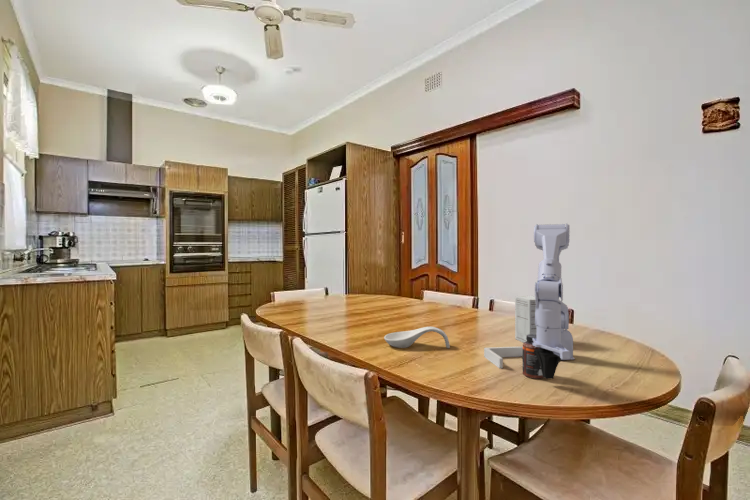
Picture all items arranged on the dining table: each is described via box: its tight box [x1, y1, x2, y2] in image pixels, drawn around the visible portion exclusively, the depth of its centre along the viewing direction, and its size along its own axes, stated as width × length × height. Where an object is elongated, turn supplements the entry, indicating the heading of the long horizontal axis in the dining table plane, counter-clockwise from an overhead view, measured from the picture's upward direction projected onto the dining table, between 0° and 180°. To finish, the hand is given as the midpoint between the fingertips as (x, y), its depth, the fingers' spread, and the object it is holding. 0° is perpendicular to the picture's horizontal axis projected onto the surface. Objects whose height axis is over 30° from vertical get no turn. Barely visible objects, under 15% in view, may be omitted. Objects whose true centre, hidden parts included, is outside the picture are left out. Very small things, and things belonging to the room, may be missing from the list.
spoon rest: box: [383, 326, 451, 349], centre depth 128 cm, size 24×12×7 cm, turn 84°
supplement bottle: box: [522, 334, 545, 380], centre depth 99 cm, size 6×6×11 cm
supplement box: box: [514, 295, 537, 344], centre depth 134 cm, size 10×9×17 cm
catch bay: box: [483, 345, 523, 369], centre depth 111 cm, size 14×11×3 cm
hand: (548, 377), depth 92 cm, fingers closed
